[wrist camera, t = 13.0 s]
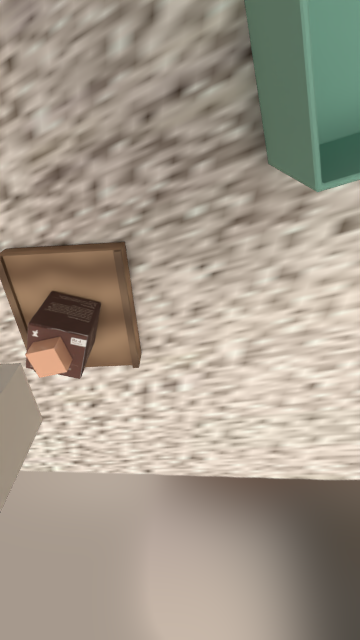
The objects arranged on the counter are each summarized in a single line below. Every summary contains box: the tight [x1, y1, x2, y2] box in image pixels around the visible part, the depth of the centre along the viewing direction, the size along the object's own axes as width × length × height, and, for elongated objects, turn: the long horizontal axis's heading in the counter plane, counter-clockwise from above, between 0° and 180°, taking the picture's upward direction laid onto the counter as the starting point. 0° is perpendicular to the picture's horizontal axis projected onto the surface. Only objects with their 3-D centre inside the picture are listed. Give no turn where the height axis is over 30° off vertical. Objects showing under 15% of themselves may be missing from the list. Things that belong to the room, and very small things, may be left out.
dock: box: [0, 242, 141, 372], centre depth 42 cm, size 16×14×3 cm
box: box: [26, 291, 101, 379], centre depth 38 cm, size 6×6×7 cm
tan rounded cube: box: [25, 337, 73, 378], centre depth 34 cm, size 3×3×2 cm
